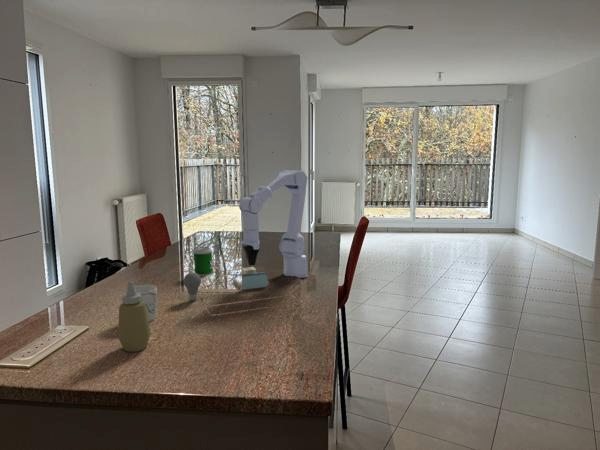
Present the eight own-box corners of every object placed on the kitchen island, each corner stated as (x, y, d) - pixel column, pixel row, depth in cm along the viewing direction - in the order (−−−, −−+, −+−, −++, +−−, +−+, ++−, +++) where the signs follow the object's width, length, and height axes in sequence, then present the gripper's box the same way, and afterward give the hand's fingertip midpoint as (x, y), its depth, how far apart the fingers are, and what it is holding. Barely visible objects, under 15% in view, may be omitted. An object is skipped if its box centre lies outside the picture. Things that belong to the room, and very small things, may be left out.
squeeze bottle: (124, 342, 121) (119, 278, 118) (154, 340, 121) (150, 277, 119) (114, 355, 113) (109, 286, 110) (147, 353, 114) (142, 285, 111)
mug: (133, 330, 129) (131, 297, 128) (115, 324, 134) (113, 292, 132) (164, 317, 139) (162, 287, 137) (146, 313, 143) (144, 283, 142)
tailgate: (266, 287, 168) (266, 271, 167) (267, 287, 167) (266, 272, 166) (242, 290, 165) (241, 274, 164) (242, 290, 164) (242, 275, 163)
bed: (261, 281, 178) (261, 275, 177) (268, 288, 169) (268, 282, 168) (233, 285, 173) (233, 279, 173) (239, 292, 165) (238, 285, 164)
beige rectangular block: (253, 280, 175) (253, 266, 175) (256, 283, 171) (256, 269, 171) (242, 281, 174) (241, 268, 173) (245, 284, 170) (244, 270, 169)
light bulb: (205, 298, 158) (203, 271, 156) (196, 303, 152) (194, 275, 150) (190, 296, 159) (189, 269, 158) (181, 302, 154) (179, 274, 152)
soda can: (208, 278, 183) (207, 250, 181) (191, 278, 185) (190, 249, 183) (215, 274, 190) (214, 246, 189) (199, 273, 192) (198, 246, 190)
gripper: (235, 227, 170) (237, 261, 172) (245, 233, 157) (246, 270, 159) (253, 226, 173) (254, 260, 175) (264, 231, 160) (265, 268, 162)
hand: (251, 264), depth 167 cm, fingers closed
